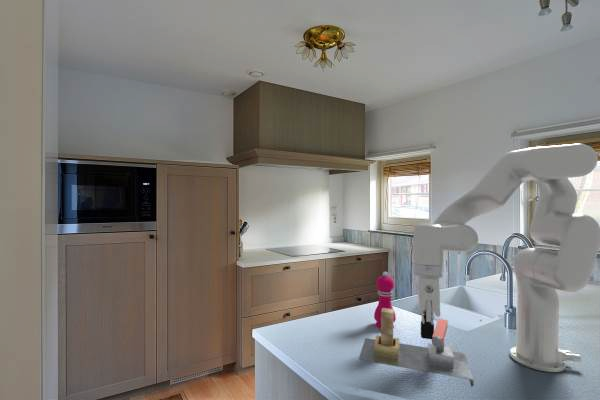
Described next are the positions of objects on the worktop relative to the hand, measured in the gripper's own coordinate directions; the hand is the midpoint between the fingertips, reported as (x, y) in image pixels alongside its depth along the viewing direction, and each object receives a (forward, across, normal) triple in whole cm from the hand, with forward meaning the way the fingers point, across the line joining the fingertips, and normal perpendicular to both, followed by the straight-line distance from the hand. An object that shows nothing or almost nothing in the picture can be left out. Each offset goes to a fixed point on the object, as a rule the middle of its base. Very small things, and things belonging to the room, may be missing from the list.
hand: (427, 337), depth 85 cm
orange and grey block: (+4, +2, -3) cm, 5 cm away
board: (+8, +2, +4) cm, 9 cm away
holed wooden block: (+7, +3, +11) cm, 13 cm away
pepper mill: (+8, +22, +12) cm, 26 cm away
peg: (+7, +2, +10) cm, 13 cm away
